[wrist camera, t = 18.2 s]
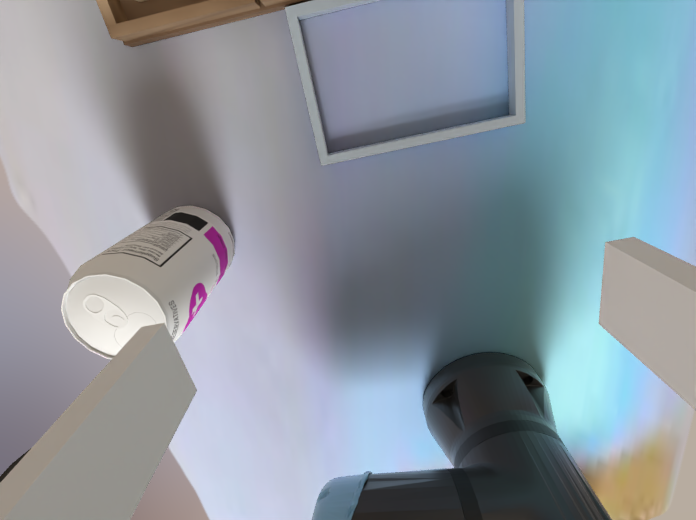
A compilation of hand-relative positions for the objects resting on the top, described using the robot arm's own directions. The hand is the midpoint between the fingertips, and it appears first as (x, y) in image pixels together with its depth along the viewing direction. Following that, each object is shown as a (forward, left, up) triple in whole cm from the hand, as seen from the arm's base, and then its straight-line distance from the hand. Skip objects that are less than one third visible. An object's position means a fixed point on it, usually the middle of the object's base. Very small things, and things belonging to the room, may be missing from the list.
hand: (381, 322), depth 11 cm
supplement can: (-4, +18, -27) cm, 33 cm away
